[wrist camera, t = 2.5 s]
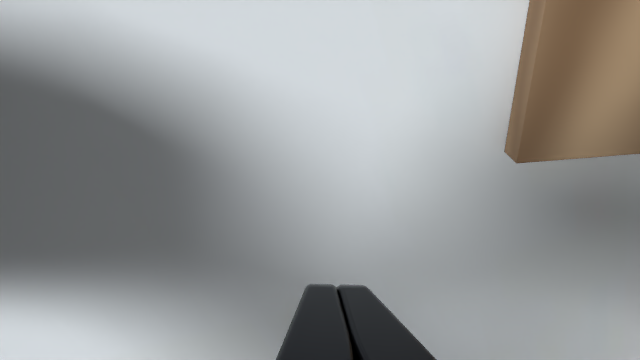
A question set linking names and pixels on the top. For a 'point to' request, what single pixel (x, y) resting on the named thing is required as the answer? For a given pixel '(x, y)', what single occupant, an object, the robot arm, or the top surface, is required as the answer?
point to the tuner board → (577, 82)
